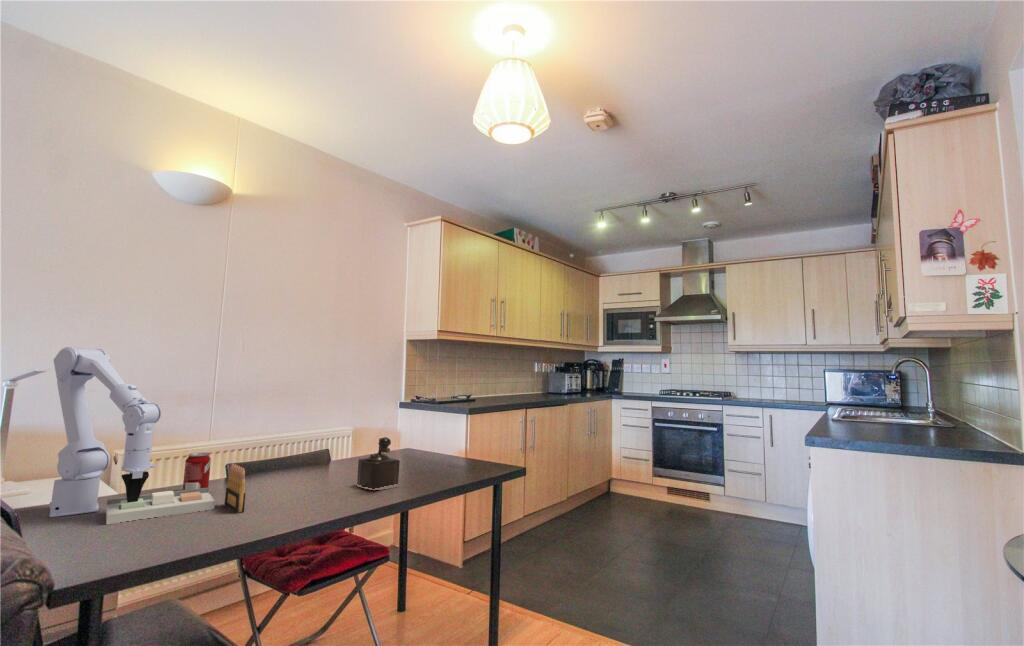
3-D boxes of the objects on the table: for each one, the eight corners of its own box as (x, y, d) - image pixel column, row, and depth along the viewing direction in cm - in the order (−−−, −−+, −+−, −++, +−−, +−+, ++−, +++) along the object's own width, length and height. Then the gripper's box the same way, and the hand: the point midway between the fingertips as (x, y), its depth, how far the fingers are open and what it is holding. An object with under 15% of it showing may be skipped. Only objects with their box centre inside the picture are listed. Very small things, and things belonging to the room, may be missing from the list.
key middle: (152, 508, 126) (153, 496, 126) (150, 504, 130) (151, 492, 130) (173, 506, 129) (174, 494, 130) (171, 502, 133) (172, 490, 133)
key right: (181, 509, 130) (182, 497, 131) (178, 505, 134) (180, 493, 134) (200, 506, 133) (201, 494, 134) (198, 502, 137) (199, 491, 137)
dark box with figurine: (354, 486, 162) (357, 433, 164) (381, 482, 171) (384, 431, 173) (379, 495, 152) (383, 438, 154) (408, 489, 161) (410, 436, 163)
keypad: (106, 524, 117) (108, 509, 118) (105, 513, 126) (107, 499, 127) (214, 509, 132) (215, 496, 133) (206, 499, 141) (208, 487, 142)
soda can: (198, 496, 145) (202, 456, 146) (176, 495, 145) (180, 455, 146) (212, 490, 152) (216, 452, 153) (192, 490, 152) (195, 451, 153)
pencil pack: (244, 512, 131) (248, 467, 132) (236, 513, 129) (240, 468, 131) (231, 504, 138) (235, 462, 139) (224, 505, 137) (228, 462, 138)
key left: (120, 517, 122) (121, 504, 122) (119, 513, 125) (120, 500, 126) (142, 514, 125) (143, 502, 125) (141, 510, 128) (142, 498, 129)
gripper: (159, 451, 124) (153, 505, 123) (154, 444, 135) (149, 493, 133) (124, 454, 119) (118, 509, 118) (122, 446, 130) (116, 497, 129)
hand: (132, 501), depth 125 cm, fingers closed, pressing on key left
